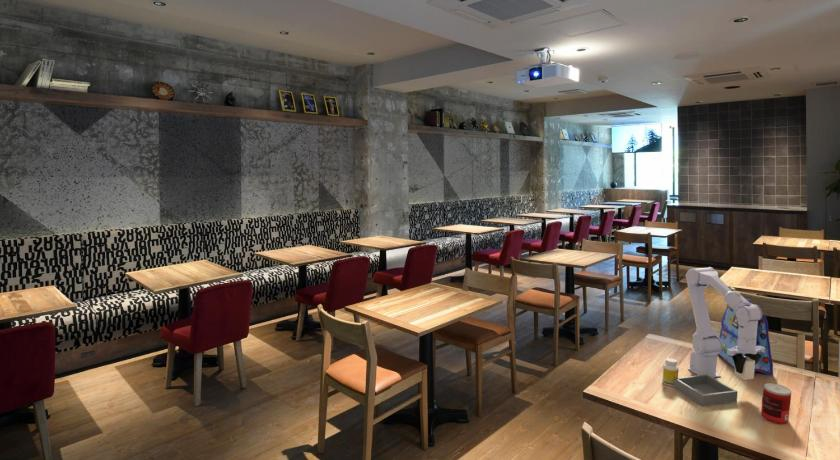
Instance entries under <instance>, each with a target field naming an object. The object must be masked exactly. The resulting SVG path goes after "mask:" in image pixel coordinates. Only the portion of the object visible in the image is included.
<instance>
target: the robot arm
mask: <svg viewBox="0 0 840 460" xmlns="http://www.w3.org/2000/svg"><path fill="white" fill-rule="evenodd" d="M684 276H685V279H686V284H687V285H686V286H687V290H688V294H689V299H690V304H691V309H692V312H693V316H694V321H695V325H696V331H695V332H694V333H693V334H692V349H693V350H692V351H691V353H690V355H689V356H690V359H689V367H688V368H687V370H688V371H691V372H692V373H694V374H696V376H697V375H705V374H707V375H709V376H711V377H712V378H714V379H715V378H720V377H722V375H721V374H719V373H717V361H718V355H719V352H720V351H721V350H722V348H723V344H722V341H721V340H720V338H719V337H720V333H718V332H717V331H716V330H714V329H713V326H712V323H711V318H710V315H709V310H708V305H707V301H706V296H705V292H704V291H705V290H706V288H708V287H712V288H713V289H714V290H715V291H716V292H718V293H719V294H720V295H722V296H723V301H724V303H726V304H728V305H729V306H730V307H731V308H732V309H733V310H734V311H735V313H736V317H737V319H738V324H739V328H738V341H737V346H736V347H733V348H731V349H727V354H728V355H730V356H731V357H732V359H733V361H734V364H735V368H736V372H738V373H740V374H741V373H742V372H743V367H744V363H745V361H746V359H747V358H746V357H749V358H750V359H752V360H754V361H755V365H756V363H757V362H758V360H759V359H760V358H761V355H760V354H758V352H762V353H763V352H764V350H765V347H762V346H756V337H757V326H758V321H757V320H760V319H761V318H762V315H763V314H764V313H763V311H762V308H761V307H760V306H759V305H758V304H755V303H754V304H753V303H751V301H750V302H748V301H747V300H746V299H747V298H745V297H744V296H743V295H742V293H741V292H740V291H737V290H731V288H730V287H728V285H727V284H726V283H725V282H724V281H723V280H722V279H721V278H720V277H719V272H718V271H716V270H715V269H714V268H713V267H711V266H708V267H699V268H697V267H696V268H689V269H688V270H687V272H686V273H685V275H684ZM742 354H745V356H746V357H744V356H743V355H742ZM735 368H734V369H735Z"/></svg>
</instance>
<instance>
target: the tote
mask: <svg viewBox="0 0 840 460" xmlns="http://www.w3.org/2000/svg"><path fill="white" fill-rule="evenodd" d="M673 389H674V390H676V391H677V392H679V393H681V394H683V395H684V396H686V397H687V398H688V399H690V400H692V402H695V403H696V404H698V405H700V406H701V407H707V406H713V405H715V406H716V405H721V404H729V403H737V401H738V390H736V389H734V388H733V387H731V386H729V385H727V384H725V383H723V382H722V381H719V380H717V379H716V378H715V377H714V378H712V377H711V376H709V375H707V374H705V375H697V374H696V375H691V376H681V377H678V378H674V386H673Z"/></svg>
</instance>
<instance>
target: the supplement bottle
mask: <svg viewBox="0 0 840 460" xmlns="http://www.w3.org/2000/svg"><path fill="white" fill-rule="evenodd" d="M679 370H680V369H679V366H678V360H677V359H676V358H672V357H667V358H666V359H665V363H663V367H662V379H661V380H662V384H664V385H665V386H669V387H674V378H679Z"/></svg>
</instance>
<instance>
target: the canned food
mask: <svg viewBox="0 0 840 460" xmlns="http://www.w3.org/2000/svg"><path fill="white" fill-rule="evenodd" d="M791 398H792V390H791V389H790V388H788V386H785V385H782V384H778V383H772V382H771V383H765V384H763V388H762V400H761V409H760V410H761V412H760V413H761V416H762V419H764V420H766V421H767V422H770V423H772V424H776V425H786V424H788V422H789V419H790V410H791V400H792V399H791Z"/></svg>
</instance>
